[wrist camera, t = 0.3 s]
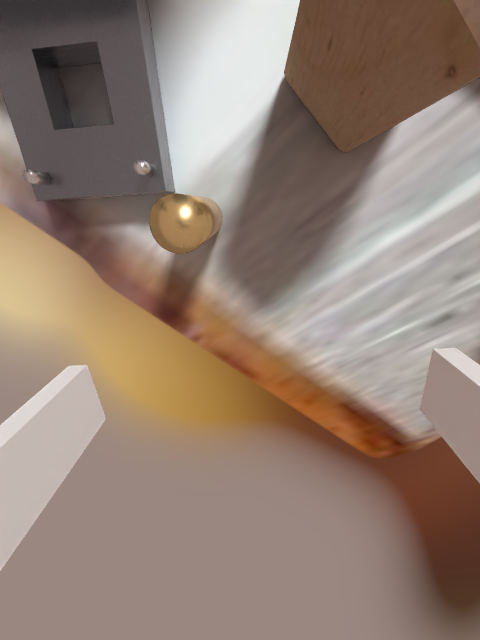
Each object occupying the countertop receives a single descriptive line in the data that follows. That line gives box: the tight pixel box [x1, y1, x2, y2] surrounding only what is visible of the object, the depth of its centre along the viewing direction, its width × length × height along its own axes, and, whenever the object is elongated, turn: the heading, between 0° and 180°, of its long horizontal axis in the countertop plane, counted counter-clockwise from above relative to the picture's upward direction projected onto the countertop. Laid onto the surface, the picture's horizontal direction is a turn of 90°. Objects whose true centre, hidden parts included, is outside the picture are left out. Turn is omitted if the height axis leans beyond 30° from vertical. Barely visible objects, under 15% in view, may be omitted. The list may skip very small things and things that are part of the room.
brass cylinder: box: [149, 194, 222, 254], centre depth 27 cm, size 4×4×12 cm
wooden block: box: [284, 0, 480, 153], centre depth 17 cm, size 10×10×20 cm
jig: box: [0, 0, 175, 201], centre depth 25 cm, size 18×14×7 cm
